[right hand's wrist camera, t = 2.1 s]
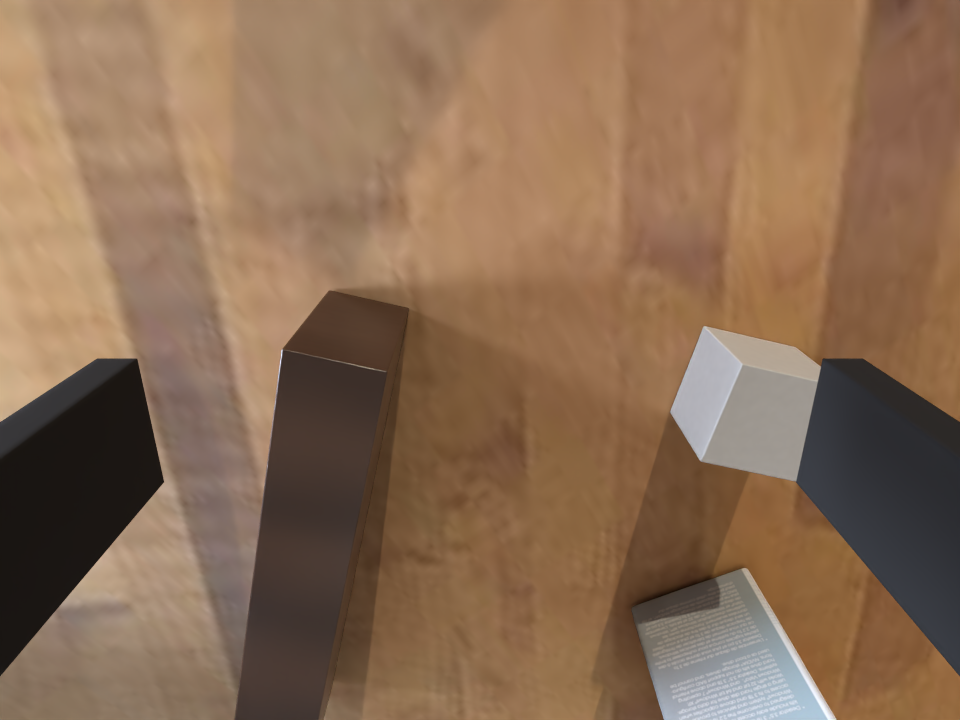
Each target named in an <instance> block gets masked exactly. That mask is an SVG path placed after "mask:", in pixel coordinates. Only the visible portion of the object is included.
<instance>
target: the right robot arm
mask: <svg viewBox="0 0 960 720" xmlns="http://www.w3.org/2000/svg"><path fill="white" fill-rule="evenodd" d="M163 483H164V480H163V475H162V470H161V466H160V461H159V457H158V452H157V447H156V443H155V438H154V434H153V429H152V424H151V420H150V415H149V411H148V406H147V401H146V397H145V392H144V388H143V383H142V379H141V374H140V369H139V365H138V360H137V359H96V360H94V361H93V362H91V363H90V364H88V365H87V366H85V367H84V368H82V369H81V370H79V371H78V372H76V373H75V374H73V375H72V376H70V377H68V378H67V379H65V380H64V381H62V382H61V383H59V384H58V385H56V386H55V387H53V388H52V389H50V390H49V391H47V392H46V393H44V394H43V395H41V396H40V397H38V398H36V399H35V400H33V401H32V402H30V403H29V404H27V405H26V406H24V407H23V408H21V409H20V410H18V411H17V412H15V413H14V414H12V415H11V416H9V417H8V418H6V419H4V420H3V421H1V422H0V676H1V675H2V673H3V672H4V671H5V670H6V669H7V668H8V666H9V665H10V664H11V663H12V662H13V660H14V659H15V658H16V657H17V656H18V654H19V653H20V652H21V651H22V650H23V649H24V647H25V646H26V645H27V644H28V643H29V641H30V640H31V639H32V638H33V637H34V636H35V634H36V633H37V632H38V631H39V630H40V628H41V627H42V626H43V625H44V624H45V622H46V621H47V620H48V619H49V618H50V617H51V615H52V614H53V613H54V612H55V611H56V609H57V608H58V607H59V606H60V605H61V604H62V602H63V601H64V600H65V599H66V598H67V596H68V595H69V594H70V593H71V592H72V590H73V589H74V588H75V587H76V586H77V585H78V583H79V582H80V581H81V580H82V579H83V577H84V576H85V575H86V574H87V573H88V572H89V570H90V569H91V568H92V567H93V566H94V564H95V563H96V562H97V561H98V560H99V558H100V557H101V556H102V555H103V554H104V553H105V551H106V550H107V549H108V548H109V547H110V545H111V544H112V543H113V542H114V541H115V540H116V538H117V537H118V536H119V535H120V534H121V532H122V531H123V530H124V529H125V528H126V526H127V525H128V524H129V523H130V522H131V521H132V519H133V518H134V517H135V516H136V515H137V513H138V512H139V511H140V510H141V509H142V508H143V506H144V505H145V504H146V503H147V502H148V500H149V499H150V498H151V497H152V496H153V494H154V493H155V492H156V491H157V490H158V489H159V487H160V486H161V485H162V484H163ZM796 483H797V484H798V485H799V486H800V487H801V489H802V490H803V491H804V492H805V493H806V494H807V496H808V497H809V498H810V499H811V500H812V502H813V503H814V504H815V505H816V506H817V508H818V509H819V510H820V511H821V512H822V513H823V515H824V516H825V517H826V518H827V519H828V521H829V522H830V523H831V524H832V525H833V526H834V528H835V529H836V530H837V531H838V532H839V534H840V535H841V536H842V537H843V538H844V540H845V541H846V542H847V543H848V544H849V545H850V547H851V548H852V549H853V550H854V551H855V553H856V554H857V555H858V556H859V557H860V558H861V560H862V561H863V562H864V563H865V564H866V566H867V567H868V568H869V569H870V570H871V572H872V573H873V574H874V575H875V576H876V577H877V579H878V580H879V581H880V582H881V583H882V585H883V586H884V587H885V588H886V589H887V590H888V592H889V593H890V594H891V595H892V596H893V598H894V599H895V600H896V601H897V602H898V604H899V605H900V606H901V607H902V608H903V609H904V611H905V612H906V613H907V614H908V615H909V617H910V618H911V619H912V620H913V621H914V622H915V624H916V625H917V626H918V627H919V628H920V630H921V631H922V632H923V633H924V634H925V636H926V637H927V638H928V639H929V640H930V641H931V643H932V644H933V645H934V646H935V647H936V649H937V650H938V651H939V652H940V653H941V654H942V656H943V657H944V658H945V659H946V660H947V662H948V663H949V664H950V665H951V666H952V668H953V669H954V670H955V671H956V672H957V673H958V675H959V676H960V422H959V421H957V420H956V419H954V418H952V417H951V416H949V415H948V414H946V413H945V412H943V411H942V410H940V409H939V408H937V407H936V406H934V405H933V404H931V403H930V402H928V401H927V400H925V399H924V398H922V397H920V396H919V395H917V394H916V393H914V392H913V391H911V390H910V389H908V388H907V387H905V386H904V385H902V384H901V383H899V382H898V381H896V380H895V379H893V378H892V377H890V376H888V375H887V374H885V373H884V372H882V371H881V370H879V369H878V368H876V367H875V366H873V365H872V364H870V363H869V362H867V361H866V360H864V359H823V360H822V365H821V369H820V374H819V379H818V383H817V388H816V392H815V397H814V401H813V406H812V411H811V415H810V420H809V424H808V429H807V434H806V438H805V443H804V447H803V452H802V457H801V461H800V466H799V470H798V475H797V480H796Z"/></svg>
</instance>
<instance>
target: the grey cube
mask: <svg viewBox="0 0 960 720" xmlns="http://www.w3.org/2000/svg"><path fill="white" fill-rule="evenodd" d="M820 369H821V366H819V365H818V364H817V363H815V362H814V361H813V360H811V359H810V358H809V357H808V356H806V355H805V354H804V353H802V352H801V351H800V350H798V349H797V348H796V347H793V346H789V345H784V344H780V343H776V342H771V341H767V340H763V339H758V338H754V337H750V336H745V335H741V334H737V333H732V332H728V331H724V330H720V329H715V328H711V327H707V326H704V327H703V329H702V332H701V334H700V337H699V340H698V342H697V345H696V347H695V350H694V352H693V355H692V357H691V360H690V362H689V365H688V368H687V370H686V373H685V375H684V378H683V380H682V383H681V385H680V388H679V390H678V393H677V396H676V398H675V401H674V403H673V406H672V408H671V411H670V413H671V415H672V416H673V418H674V420H675V421H676V423H677V424H678V426H679V428H680V429H681V431H682V432H683V434H684V436H685V437H686V439H687V440H688V442H689V444H690V445H691V447H692V449H693V450H694V452H695V453H696V455H697V457H698V458H699V460H700V461H701V462H705V463H710V464H715V465H720V466H724V467H729V468H734V469H738V470H743V471H748V472H753V473H757V474H762V475H767V476H772V477H776V478H781V479H786V480H791V481H795V482H796V480H797V475H798V470H799V466H800V461H801V457H802V452H803V447H804V443H805V438H806V434H807V429H808V424H809V420H810V415H811V411H812V406H813V401H814V397H815V392H816V388H817V383H818V379H819V374H820Z"/></svg>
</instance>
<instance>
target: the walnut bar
mask: <svg viewBox="0 0 960 720" xmlns="http://www.w3.org/2000/svg"><path fill="white" fill-rule="evenodd" d="M408 311H409V308H405V307H401V306H396V305H392V304H387V303H383V302H379V301H374V300H370V299H365V298H361V297H356V296H352V295H347V294H343V293H338V292H334V291H328V292H327V294H326V295H325V296H324V297H323V299H322V300H321V301H320V302H319V304H318V305H317V306H316V308H315V309H314V310H313V311H312V313H311V314H310V315H309V316H308V318H307V319H306V320H305V321H304V323H303V324H302V325H301V326H300V328H299V329H298V330H297V331H296V333H295V334H294V335H293V336H292V338H291V339H290V340H289V341H288V343H287V344H286V345H285V346H284V348H283V349H282V352H281V360H280V368H279V376H278V384H277V392H276V399H275V407H274V415H273V423H272V431H271V439H270V446H269V454H268V462H267V470H266V478H265V486H264V493H263V501H262V509H261V517H260V525H259V533H258V540H257V548H256V556H255V564H254V572H253V580H252V587H251V595H250V603H249V611H248V619H247V627H246V634H245V642H244V650H243V658H242V666H241V674H240V681H239V689H238V697H237V705H236V713H235V720H324V716H325V712H326V708H327V704H328V700H329V696H330V692H331V688H332V684H333V679H334V674H335V669H336V664H337V659H338V654H339V650H340V645H341V640H342V635H343V630H344V625H345V620H346V615H347V610H348V605H349V601H350V596H351V591H352V586H353V581H354V576H355V571H356V566H357V561H358V556H359V552H360V547H361V542H362V537H363V532H364V527H365V522H366V517H367V512H368V507H369V503H370V498H371V493H372V488H373V483H374V478H375V473H376V468H377V463H378V458H379V454H380V449H381V444H382V439H383V434H384V429H385V424H386V419H387V414H388V409H389V404H390V400H391V395H392V390H393V385H394V380H395V375H396V370H397V365H398V360H399V355H400V351H401V346H402V341H403V336H404V331H405V326H406V321H407V316H408Z"/></svg>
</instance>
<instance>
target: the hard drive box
mask: <svg viewBox="0 0 960 720" xmlns="http://www.w3.org/2000/svg"><path fill="white" fill-rule="evenodd" d="M632 614H633V618H634V622H635V626H636V629H637V632H638V636H639V639H640V642H641V646H642V649H643V652H644V656H645V659H646V662H647V665H648V669H649V672H650V675H651V678H652V682H653V685H654V688H655V692H656V695H657V698H658V701H659V705H660V708H661V711H662V715H663V718H664V720H837V719H836V718H835V716H834V714H833V713H832V711H831V709H830V708H829V706H828V704H827V702H826V701H825V699H824V697H823V696H822V694H821V692H820V691H819V689H818V687H817V685H816V684H815V682H814V680H813V679H812V677H811V675H810V673H809V672H808V670H807V668H806V667H805V665H804V663H803V661H802V660H801V658H800V656H799V655H798V653H797V651H796V649H795V648H794V646H793V644H792V643H791V641H790V639H789V637H788V636H787V634H786V632H785V631H784V629H783V627H782V625H781V624H780V622H779V620H778V619H777V617H776V615H775V614H774V612H773V610H772V609H771V607H770V605H769V604H768V602H767V601H766V599H765V597H764V596H763V594H762V592H761V590H760V589H759V587H758V585H757V584H756V582H755V580H754V579H753V577H752V575H751V574H750V572H749V571H748V569H746V568H742V569H739V570H736V571H733V572H730V573H727V574H724V575H722V576H719V577H716V578H713V579H710V580H707V581H704V582H701V583H698V584H695V585H693V586H690V587H687V588H684V589H681V590H678V591H675V592H672V593H669V594H667V595H664V596H661V597H658V598H656V599H653V600H650V601H647V602H644V603H641V604H638V605H636V606H634V607H632Z"/></svg>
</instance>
